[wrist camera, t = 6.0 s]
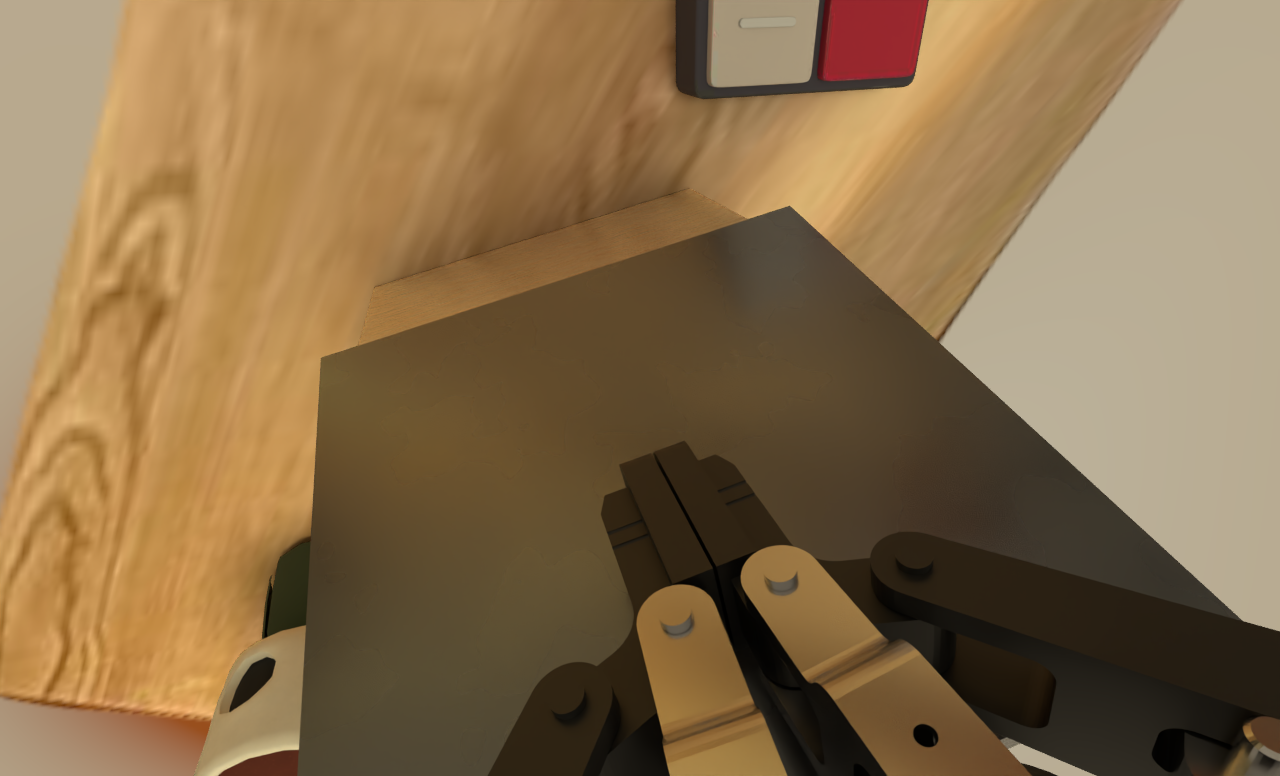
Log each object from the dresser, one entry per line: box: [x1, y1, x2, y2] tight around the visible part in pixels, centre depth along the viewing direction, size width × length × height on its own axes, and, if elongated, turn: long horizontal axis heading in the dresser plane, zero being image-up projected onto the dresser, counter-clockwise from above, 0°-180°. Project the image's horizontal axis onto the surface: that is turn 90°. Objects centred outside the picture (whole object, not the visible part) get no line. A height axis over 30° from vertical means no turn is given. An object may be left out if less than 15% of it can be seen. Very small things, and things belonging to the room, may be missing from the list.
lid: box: [297, 206, 1242, 776], centre depth 16 cm, size 18×17×1 cm
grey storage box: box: [358, 188, 748, 346], centre depth 30 cm, size 16×16×10 cm
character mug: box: [194, 542, 311, 776], centre depth 31 cm, size 11×7×13 cm, turn 147°
